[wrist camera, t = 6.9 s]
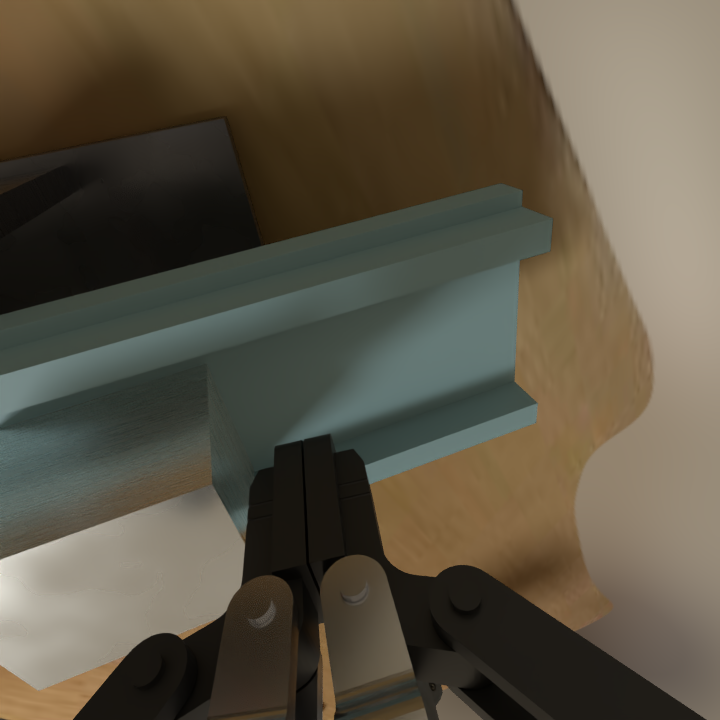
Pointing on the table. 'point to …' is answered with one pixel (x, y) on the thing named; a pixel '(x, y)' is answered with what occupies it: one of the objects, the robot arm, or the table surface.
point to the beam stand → (120, 211)
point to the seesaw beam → (313, 334)
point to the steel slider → (118, 524)
